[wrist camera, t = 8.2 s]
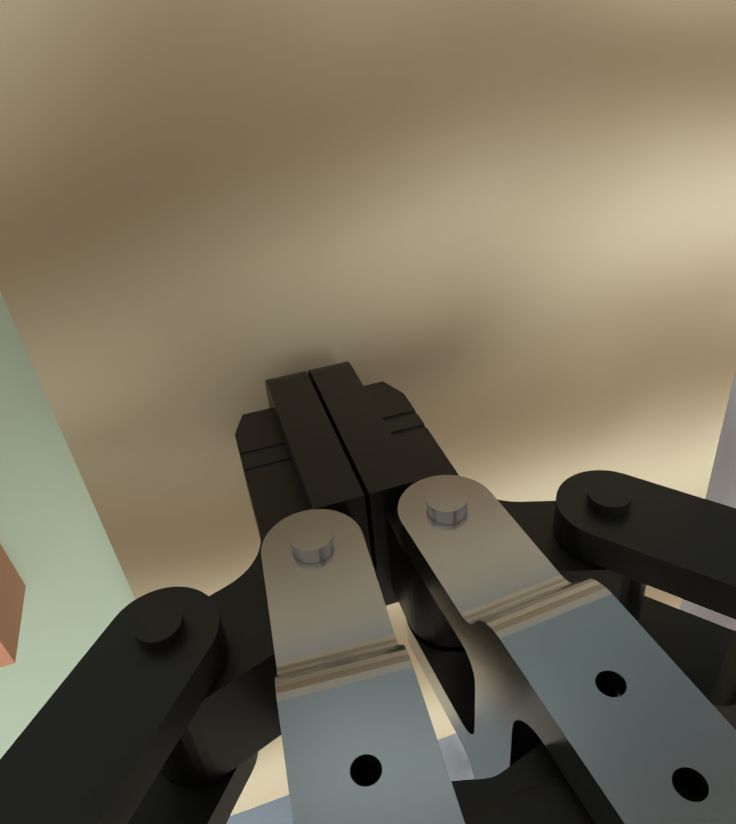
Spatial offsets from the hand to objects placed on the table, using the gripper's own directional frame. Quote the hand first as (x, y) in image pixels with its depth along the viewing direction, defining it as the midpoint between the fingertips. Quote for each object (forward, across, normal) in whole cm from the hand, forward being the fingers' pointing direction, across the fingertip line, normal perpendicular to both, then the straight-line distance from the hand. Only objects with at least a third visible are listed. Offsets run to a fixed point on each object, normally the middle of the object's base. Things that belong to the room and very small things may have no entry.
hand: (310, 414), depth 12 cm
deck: (+4, -3, +2) cm, 6 cm away
